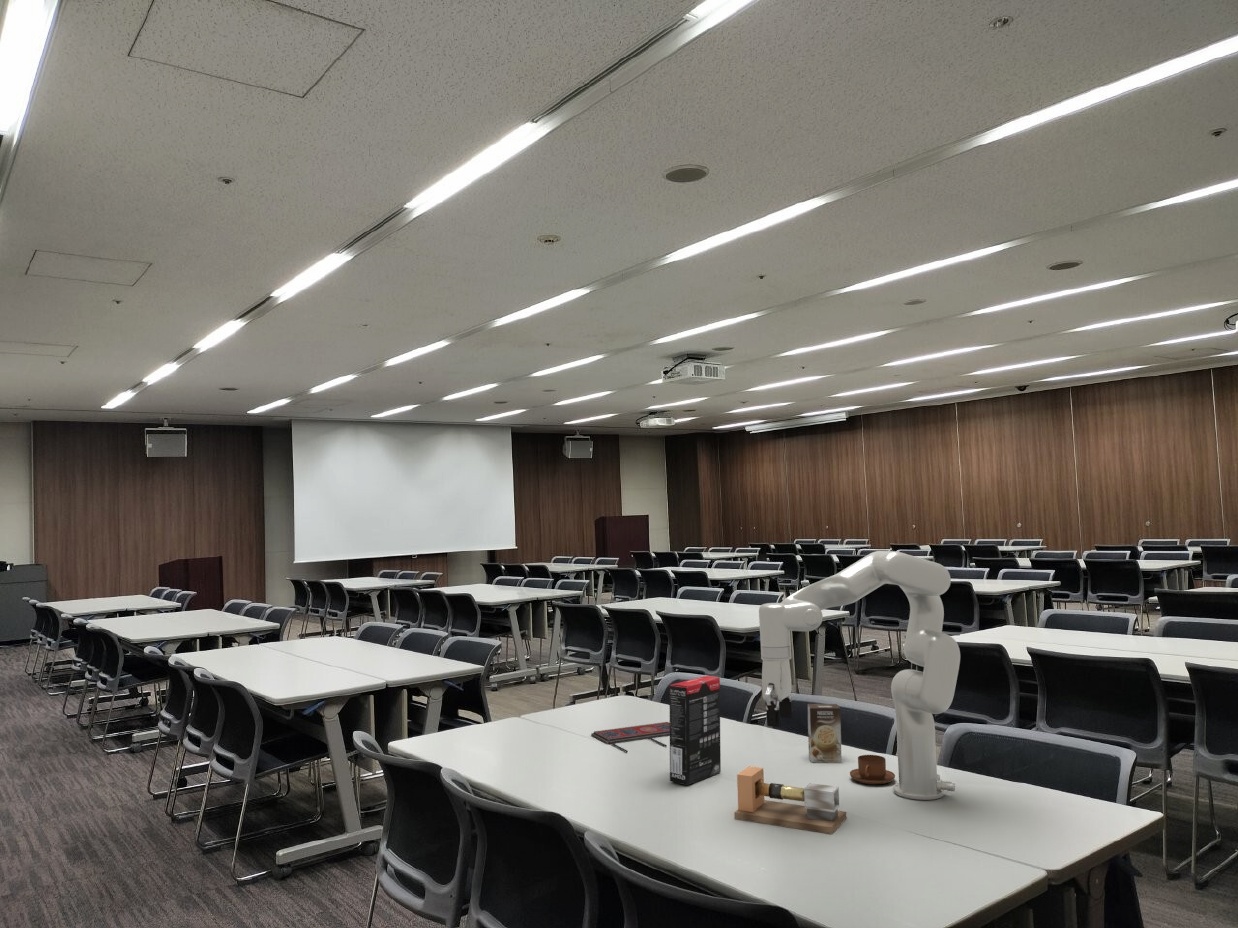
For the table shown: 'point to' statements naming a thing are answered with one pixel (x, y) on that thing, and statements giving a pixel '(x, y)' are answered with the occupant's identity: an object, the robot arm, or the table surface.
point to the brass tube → (779, 791)
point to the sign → (633, 733)
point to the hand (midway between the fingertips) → (780, 721)
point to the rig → (802, 811)
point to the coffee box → (824, 733)
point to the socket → (749, 789)
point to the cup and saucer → (872, 770)
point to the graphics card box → (694, 729)
